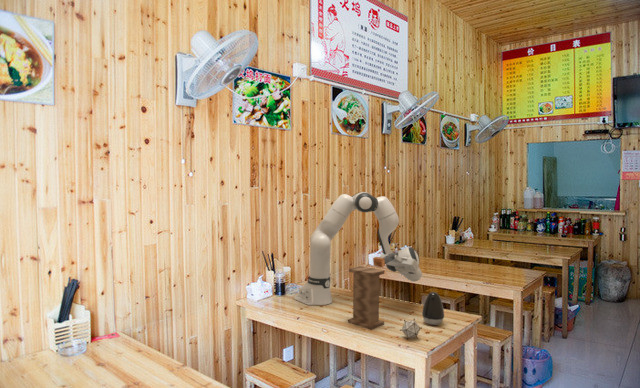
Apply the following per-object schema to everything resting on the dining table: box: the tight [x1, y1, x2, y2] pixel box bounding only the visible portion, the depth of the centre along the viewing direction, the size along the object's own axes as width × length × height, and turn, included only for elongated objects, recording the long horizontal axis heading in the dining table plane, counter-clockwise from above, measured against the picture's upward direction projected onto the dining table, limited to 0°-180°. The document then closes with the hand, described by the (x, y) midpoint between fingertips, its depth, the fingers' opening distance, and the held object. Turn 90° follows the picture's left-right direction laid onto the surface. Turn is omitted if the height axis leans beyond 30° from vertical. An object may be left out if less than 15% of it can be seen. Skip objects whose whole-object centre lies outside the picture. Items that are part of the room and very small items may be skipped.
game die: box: [399, 317, 423, 341], centre depth 189 cm, size 9×8×10 cm
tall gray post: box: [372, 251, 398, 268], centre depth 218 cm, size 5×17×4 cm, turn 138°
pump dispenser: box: [421, 291, 445, 326], centre depth 208 cm, size 10×10×15 cm
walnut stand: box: [347, 265, 385, 331], centre depth 206 cm, size 14×10×26 cm
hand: (391, 255), depth 221 cm, fingers closed on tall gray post, 2 cm apart
